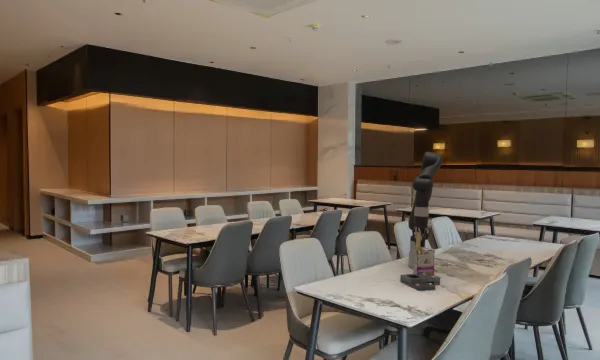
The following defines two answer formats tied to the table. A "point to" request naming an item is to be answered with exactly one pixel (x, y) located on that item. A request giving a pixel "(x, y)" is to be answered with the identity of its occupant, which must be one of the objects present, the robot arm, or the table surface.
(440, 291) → the table surface
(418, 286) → the lower chain end
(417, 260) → the candy bar box
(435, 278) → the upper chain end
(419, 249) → the brass pin
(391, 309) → the table surface
